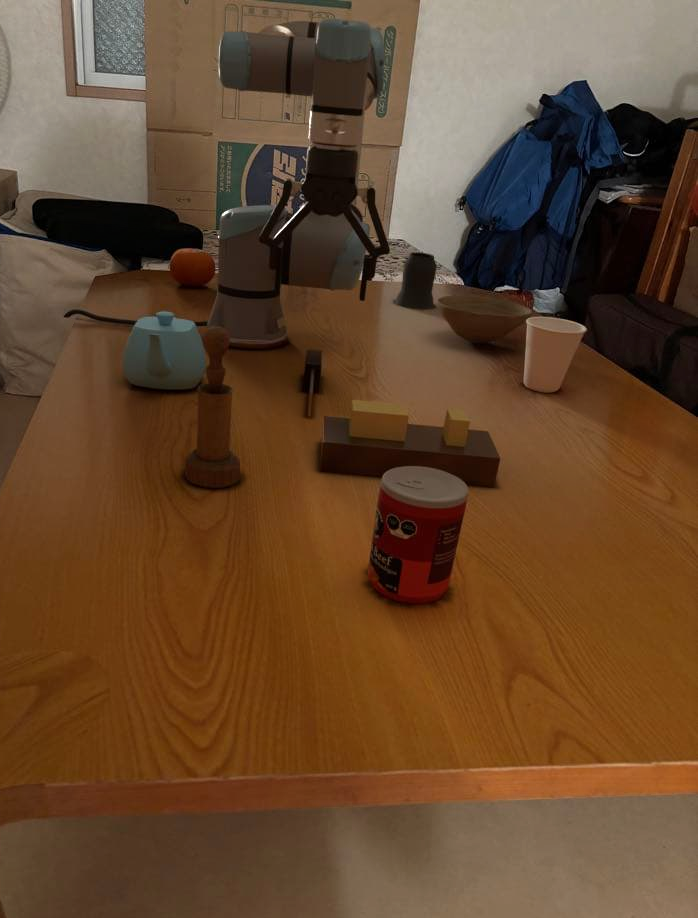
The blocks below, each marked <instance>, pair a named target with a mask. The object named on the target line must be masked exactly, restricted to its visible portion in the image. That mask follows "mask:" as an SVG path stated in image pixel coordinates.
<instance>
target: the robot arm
mask: <svg viewBox="0 0 698 918" xmlns="http://www.w3.org/2000/svg"><path fill="white" fill-rule="evenodd" d="M384 73H385V42H384V36H383V34H382V32H381V31H380V30H379V29H378V28H375V27H371V26H370V25H369V24H368V23H367V22H364V21H358V20H351V19H350V20H349V19H339V18H324V19H322V20H320V21H318V22H317V21H308V20H295V21H293V20H292V21H287V22H282V23H277V24H272V25H269V26H266V27H264V28H262V29H261V30H260V31H259V32H248V31H246V30H239V31H238V30H237V31H236V30H235V31H234V30H231V31H230V30H228V31H225V32H223V34H222V35H221V37H220V42H219V47H218V76H219V81H220V84H221V86H222V87H223V88H225V89H231V90H237V91H239V92H259V93H273V94H285V95H292V96H301V97H302V96H303V97H311V105H310V111H309V112H310V113H309V126H308V127H309V128H308V142H309V143H311V145H310V146H309V147H308V148H307V151H306V162H305V163H306V165H305V177H304V179H303V182H301V181H295V180H292V179H291V178H286V179H285V180H284V183H283V186H282V193H281V197H280V198H279V200H278V201H277V204H276V205H273V204H267V205H266V204H262V205H261V204H260V205H247V206H240V207H239V206H238V207H234V208H233V207H232V208H229V209H227V210H225V211H224V212H223V213H222V214H221V216H220V220H219V228H218V229H219V231H218V236H217V240H218V257H217V258H218V261H217V262H218V263H217V293H216V297H215V300H214V302H213V306H212V309H211V312H210V315H209V317H208V320H197V321H195V320H194V321H193V322H194V323H195V325H196V327H206V330H207V329H208V328H210V327H222V328H223V329H225V330H226V331H227V333H228V335H229V338H230V344H229V348H230V347H231V348H236V349H237V348H238V349H248V350H249V349H250V350H261V349H263V350H264V349H273V348H277V347H280V346H283V345H284V344H286V343H287V339H288V328H287V322H286V318H285V316H284V310H283V307H282V303H281V287H282V286H291V287H292V286H293V287H301V288H313V289H324V290H329V291H332V292H333V291H351V290H354V289H355V288H356V287H357V286H358V284H359V281H360V288H359V294H358V295H359V296H358V298H359V301H360V302H365V301H366V292H367V283H368V279H372V280H373V279H374V278H375V276H376V269H377V262H378V259H379V258H380V257H381V256H383V255H385V256H386V255H388V254H390V253H391V248H390V245H389V242H388V239H387V236H386V232H385V230H384V227H383V223H382V220H381V217H380V214H379V211H378V208H377V204H376V189H375V187H374V186H373V185H368V186H367V187H358V186H359V177H360V166H361V165H360V164H361V154H362V145H363V135H364V123H365V114H366V111H367V110H369V108H370V107H371V106H372V104H373V102H374V100H375V99H379V98H380V97H381V96H382V92H383V88H384V87H383V85H384V75H385V74H384ZM299 191H301V194H302V196H303V198H304V199H305V203H304V204H302V206H301V207H300V209H299V210H298V211H296V213H295V214H294V215H293V216H290V215H287V213H288V212H287V209H286V206H287V204H288V203H289V200H290V198H291V197H295V196H296V194H297V193H298V192H299ZM358 197H360V199H361V202H362V203H363V204H366V207H367V209H368V213H369V217H370V219H371V222H372V225H373V228H374V231H375V235H376V237H377V240H378V243H379V245H377V246H375V244H374V242H373V241H372V239H371V237H370V232H371V226H370V224H369V223H366V221H364V216H363V213H362V211H361V210H360V208H359V207H358V206H357V198H358ZM366 252H367V253H368V254H366ZM360 278H361V279H360ZM75 315H81V316H84V317H87V318H89V319H92V320H95V321H98V322H103V323H104V322H105V323H110V324H112V323H113V324H119V325H127V326H128V325H129V326H134V325H135V324H136V322H137V321H138V320H134V319H127V318H126V319H125V318H117V317H110V316H102V315H97V314H95V313H92V312H90V311H87V310H84V309H80V308H79V309H78V308H74V309H70V310H68V311H67V312H66V313H65V314H64V315H63V318H66V319H67V318H68V319H69V318H71V317H72V316H75Z"/></svg>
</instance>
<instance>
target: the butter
mask: <svg viewBox="0 0 698 918" xmlns="http://www.w3.org/2000/svg"><path fill="white" fill-rule="evenodd" d="M409 415H410V414H409V411H408V407H407V404H406V403H405V404H403V403H392V402H382V401H372V400H371V401H370V400H360V399H352V400H351V405H350V414H349V418H350V421H349V436H350V437H361V438H372V439H382V440H393V441H405V436H406V430H407V424H409V417H410V416H409Z"/></svg>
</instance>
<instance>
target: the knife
mask: <svg viewBox="0 0 698 918" xmlns="http://www.w3.org/2000/svg"><path fill="white" fill-rule="evenodd" d="M322 362H323V350H319V349H318V350H317V349H308V348H306V351H305V359H304V371H303V383H302V392H303V393H309V394H308V406H307V417H308V418H309V417H311V413H312V403H313V393H314V394H319V393H320V385H321V375H322V366H323V365H322Z"/></svg>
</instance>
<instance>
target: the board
mask: <svg viewBox="0 0 698 918" xmlns="http://www.w3.org/2000/svg"><path fill="white" fill-rule="evenodd" d="M349 421H350V417H349V418H348V417H339V416H329V415H324V416H323V422H322V431H321V432H322V433H321V440H320V462H319V465H320V466H319V472H324V473H325V472H326V473H335V474H336V473H337V474H345V475H346V474H347V475H357V476H358V475H359V476H368V477H369V476H370V477H379V478H382V477H383V475H384V473H386V472H387V471H389V470H391V469H394V468H397V467H404V466H421V467H428V468H434V469H438V470H442V471H444V472H447V473H450V474H452V475H454V476H456V477H458V478H459V479H461V480H462V481H463V482H464V483H465V484H466V485H467V486H478V487H479V486H480V487H489V488H494V487H495V485H496V484H495V483H496V480H497V476H498V471H499V467H500V462H501V456H500V453H499V451H498V449H497V447H496V445H495V443H494V440H493V439H492V437H491V434H490V432H489V431H488V430H480V429H470V428H469V429H468V434H467V439H466V444H465V447H459V446H449V445H446V443H445V440H444V437H443V428H444V426H437V425H436V426H435V425H425V424H414V423H408V424H407V430H406V436H405V441H393V440H382V439H372V438H361V437H350V436H349Z"/></svg>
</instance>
